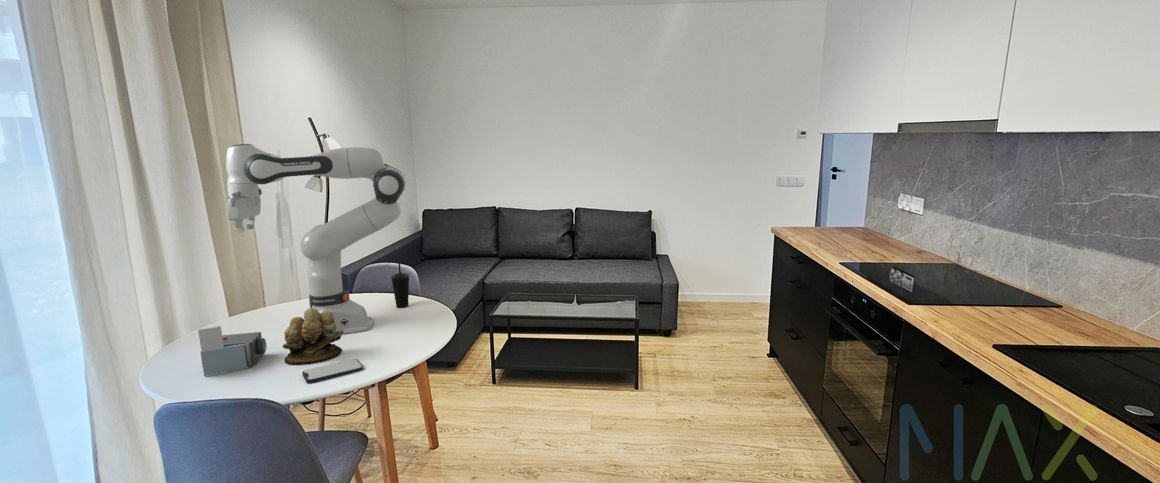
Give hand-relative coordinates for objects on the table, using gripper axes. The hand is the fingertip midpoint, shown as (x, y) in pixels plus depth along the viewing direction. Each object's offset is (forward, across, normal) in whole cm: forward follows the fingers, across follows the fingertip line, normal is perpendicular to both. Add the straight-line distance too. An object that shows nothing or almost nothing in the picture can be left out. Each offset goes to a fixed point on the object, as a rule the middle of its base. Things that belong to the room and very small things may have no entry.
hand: (245, 230), depth 181 cm
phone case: (+40, -38, -34) cm, 65 cm away
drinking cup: (+36, +24, -50) cm, 66 cm away
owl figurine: (+39, -24, -26) cm, 53 cm away
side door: (+40, -29, -3) cm, 50 cm away
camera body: (+40, -22, -3) cm, 46 cm away
